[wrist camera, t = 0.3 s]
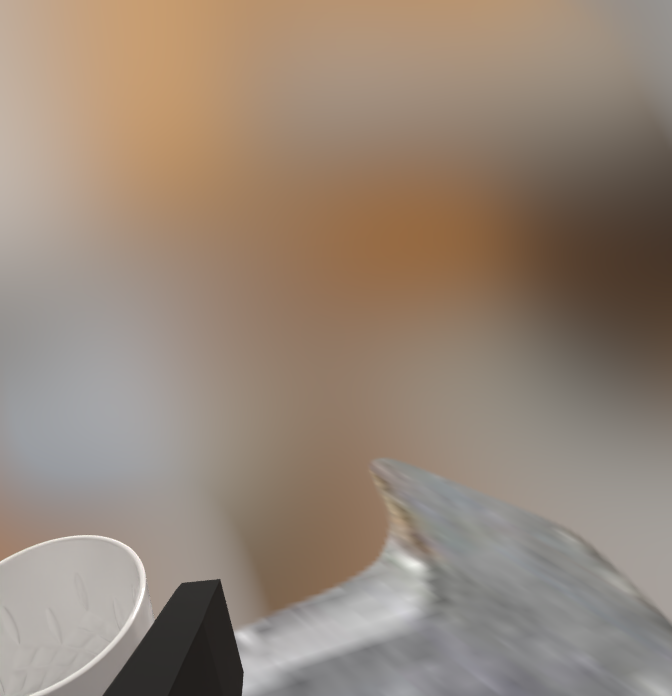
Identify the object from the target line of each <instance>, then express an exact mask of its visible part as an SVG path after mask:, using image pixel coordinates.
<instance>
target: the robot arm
mask: <svg viewBox="0 0 672 696" xmlns="http://www.w3.org/2000/svg"><path fill="white" fill-rule="evenodd" d="M243 673H244V672H243V668H242V664H241V660H240V656H239V652H238V648H237V644H236V640H235V636H234V632H233V628H232V624H231V621H230V617H229V613H228V608H227V604H226V600H225V597H224V593H223V589H222V585H221V581H220V579H217V580H207V581H197V582H187V583H182V584H181V585H180V586H179V587H178V588H177V589H176V591H175V592H174V594H173V595H172V597H171V598H170V599H169V601H168V602H167V604H166V605H165V607H164V608H163V610H162V611H161V613H160V614H159V616H158V617H157V619H156V620H155V621H154V623H153V624H152V626H151V627H150V629H149V630H148V632H147V633H146V635H145V636H144V638H143V639H142V641H141V642H140V643H139V645H138V646H137V648H136V649H135V651H134V652H133V653H132V655H131V656H130V658H129V659H128V661H127V662H126V663H125V665H124V666H123V668H122V669H121V671H120V672H119V673H118V675H117V676H116V677H115V679H114V680H113V682H112V683H111V684H110V686H109V687H108V688H107V690H106V691H105V693H104V694H103V695H102V696H242V686H243Z"/></svg>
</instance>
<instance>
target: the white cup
mask: <svg viewBox="0 0 672 696" xmlns="http://www.w3.org/2000/svg"><path fill="white" fill-rule="evenodd" d="M154 621H155V620H154V615H153V611H152V606H151V600H150V595H149V590H148V585H147V580H146V575H145V570H144V567H143V564H142V562H141V560H140V558H139V557H138V555H137V554H136V553H135V552H134V551H133V550H132V549H131V548H130V547H128V546H127V545H125V544H123V543H122V542H120V541H117V540H114V539H111V538H108V537H102V536H94V535H79V536H70V537H63V538H58V539H54V540H50V541H46V542H43V543H40V544H37V545H34V546H32V547H29V548H27V549H24V550H22V551H20V552H17V553H15V554H13V555H11V556H10V557H8V558H6V559H4V560H2V561H0V696H102V695H103V694H104V693H105V691H106V690H107V688H108V687H109V686H110V684H111V683H112V682H113V680H114V679H115V677H116V676H117V675H118V673H119V672H120V671H121V669H122V668H123V666H124V665H125V663H126V662H127V661H128V659H129V658H130V656H131V655H132V653H133V652H134V651H135V649H136V648H137V646H138V645H139V643H140V642H141V641H142V639H143V638H144V636H145V635H146V633H147V632H148V630H149V629H150V627H151V626H152V624H153V623H154Z"/></svg>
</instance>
